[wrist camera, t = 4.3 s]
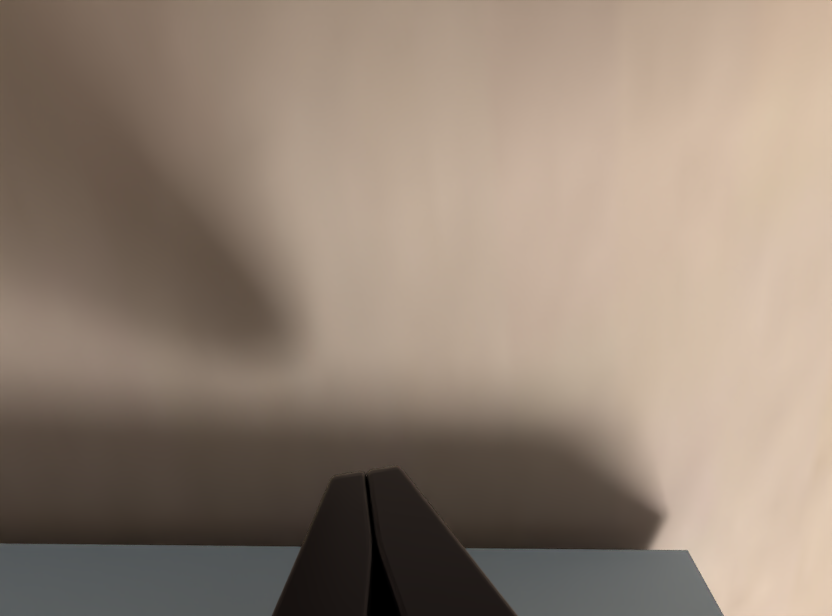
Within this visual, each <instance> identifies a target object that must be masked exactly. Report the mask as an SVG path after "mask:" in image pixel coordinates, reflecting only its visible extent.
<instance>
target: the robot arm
mask: <svg viewBox="0 0 832 616" xmlns="http://www.w3.org/2000/svg"><path fill="white" fill-rule="evenodd" d="M272 616H518V615H517V614H516V613H515V611H514V610H513V609H512V608H511V606H510V605H509V604H508V603H507V601H506V600H505V599H504V597H503V596H502V595H501V594H500V592H499V591H498V590H497V589H496V587H495V586H494V585H493V583H492V582H491V581H490V580H489V578H488V577H487V576H486V575H485V573H484V572H483V571H482V569H481V568H480V567H479V566H478V564H477V563H476V562H475V561H474V559H473V558H472V557H471V555H470V554H469V553H468V552H467V550H466V549H465V548H464V547H463V545H462V544H461V543H460V542H459V540H458V539H457V538H456V536H455V535H454V534H453V533H452V531H451V530H450V529H449V528H448V526H447V525H446V524H445V522H444V521H443V520H442V519H441V517H440V516H439V515H438V514H437V512H436V511H435V510H434V508H433V507H432V506H431V505H430V503H429V502H428V501H427V500H426V498H425V497H424V496H423V494H422V493H421V492H420V491H419V489H418V488H417V487H416V486H415V484H414V483H413V482H412V481H411V479H410V478H409V477H408V475H407V474H406V473H405V472H404V470H403V469H402V468H401V467H399V466H389V467H382V468H376V469H371V470H369V471H368V473H367V477H366V474H365V473H364V472H362V471H357V472H351V473H345V474H339V475H335V476H333V477H332V478H331V480H330V481H329V483H328V486H327V488H326V490H325V493H324V495H323V497H322V500H321V502H320V504H319V507H318V509H317V511H316V514H315V516H314V518H313V521H312V523H311V525H310V528H309V530H308V532H307V535H306V537H305V539H304V542H303V544H302V546H301V548H300V551H299V553H298V555H297V558H296V560H295V562H294V565H293V567H292V569H291V572H290V574H289V576H288V579H287V581H286V583H285V586H284V588H283V590H282V593H281V595H280V597H279V600H278V602H277V604H276V607H275V609H274V611H273V613H272Z"/></svg>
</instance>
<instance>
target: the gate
mask: <svg viewBox="0 0 832 616" xmlns="http://www.w3.org/2000/svg"><path fill="white" fill-rule="evenodd" d="M300 548H301V547H298V546H197V545H96V544H0V616H272V613H273V611H274V609H275V607H276V604H277V602H278V600H279V597H280V595H281V593H282V590H283V588H284V586H285V583H286V581H287V579H288V576H289V574H290V572H291V569H292V567H293V565H294V562H295V560H296V558H297V555H298V553H299V551H300ZM465 549H466V550H467V552H468V553H469V554H470V555H471V557H472V558H473V559H474V561H475V562H476V563H477V564H478V566H479V567H480V568H481V569H482V571H483V572H484V573H485V575H486V576H487V577H488V578H489V580H490V581H491V582H492V583H493V585H494V586H495V587H496V589H497V590H498V591H499V592H500V594H501V595H502V596H503V597H504V599H505V600H506V601H507V603H508V604H509V605H510V606H511V608H512V609H513V610H514V611H515V613H516V614H517V615H518V616H724V615H723V613H722V612H721V610H720V608H719V606H718V604H717V603H716V601H715V599H714V597H713V595H712V594H711V592H710V590H709V588H708V586H707V585H706V583H705V581H704V579H703V577H702V576H701V574H700V572H699V570H698V568H697V567H696V565H695V563H694V561H693V559H692V557H691V556H690V554H689V552H688V550H602V549H501V548H465Z"/></svg>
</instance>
